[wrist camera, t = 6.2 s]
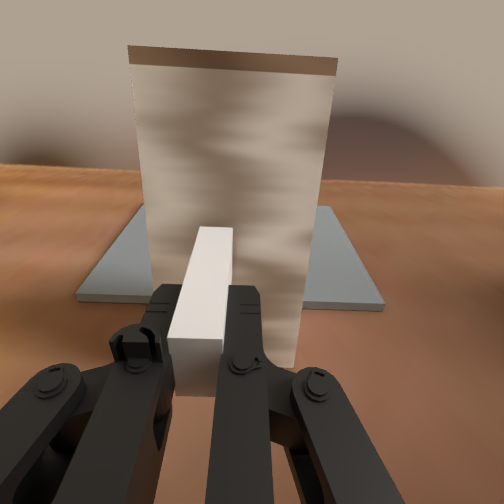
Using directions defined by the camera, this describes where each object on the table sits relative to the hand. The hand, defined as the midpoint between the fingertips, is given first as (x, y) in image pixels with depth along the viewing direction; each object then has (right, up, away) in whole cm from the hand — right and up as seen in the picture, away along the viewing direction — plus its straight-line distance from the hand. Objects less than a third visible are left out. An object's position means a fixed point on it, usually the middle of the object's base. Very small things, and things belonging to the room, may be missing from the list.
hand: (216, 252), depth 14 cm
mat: (0, +1, +17) cm, 17 cm away
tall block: (0, -6, +6) cm, 8 cm away
